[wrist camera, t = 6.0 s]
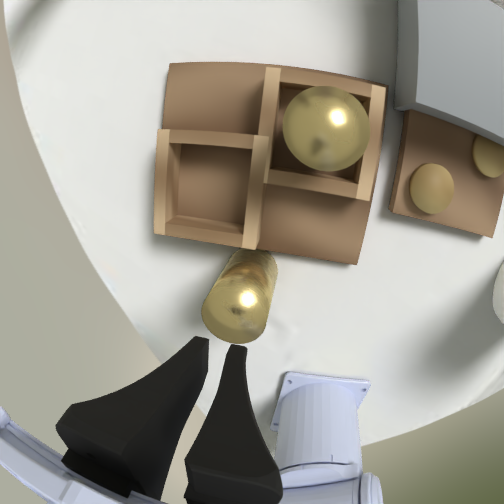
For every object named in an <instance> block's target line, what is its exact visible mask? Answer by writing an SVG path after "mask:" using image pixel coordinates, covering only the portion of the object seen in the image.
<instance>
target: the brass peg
mask: <svg viewBox="0 0 504 504" xmlns="http://www.w3.org/2000/svg"><path fill="white" fill-rule="evenodd" d="M277 274H278V268H277V264H276V262H275V260H274V258H273V257H272V256H271V255H270V254H269V253H268V252H267V251H265V250H262V249H255V250H253V249H246V248H241V249H239V250H237V251H236V252H235V253H234V254H233V255H232V256H231V258H230V260H229V261H228V263H227V264H226V266H225V268H224V269H223V271H222V273H221V274H220V276H219V278H218V279H217V281H216V283H215V284H214V286H213V288H212V289H211V291H210V293H209V294H208V296H207V298H206V299H205V301H204V303H203V305H202V309H201V314H202V319H203V322H204V324H205V326H206V327H207V329H208V330H209V331H210V332H211V333H212V334H213V335H215V336H216V337H217V338H219V339H221V340H223V341H226V342H229V343H235V344H244V343H249V342H252V341H254V340H255V339H257V338H258V337H259V336H260V335H261V334H262V333H263V331H264V329H265V326H266V322H267V318H268V314H269V310H270V305H271V301H272V297H273V292H274V288H275V284H276V279H277Z"/></svg>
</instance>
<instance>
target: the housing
mask: <svg viewBox="0 0 504 504" xmlns="http://www.w3.org/2000/svg"><path fill="white" fill-rule="evenodd" d="M393 109H396V110H399V111H405V110H409V109H413V110H416V111H419V112H422V113H425V114H428V115H431V116H434V117H436V118H439V119H442V120H445V121H447V122H450V123H452V124H455V125H458V126H460V127H463V128H465V129H467V130H470V131H472V132H474V133H477V134H479V135H481V136H483V137H486V138H488V139H490V140H492V141H494V142H496V143H498V144H500V145H502V146H504V9H503V8H502V7H500V6H499V5H497V4H495V3H494V2H492V1H490V0H398V50H397V70H396V85H395V96H394V106H393Z"/></svg>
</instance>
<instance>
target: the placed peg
mask: <svg viewBox="0 0 504 504" xmlns="http://www.w3.org/2000/svg"><path fill="white" fill-rule="evenodd" d="M282 127H283V135H284V139H285V142H286V144H287V146H288V148H289V150H290V151H291V152H292V154H293V155H294V156H295V157H296V158H297V159H298V160H299V161H300V162H302V163H303V164H305V165H307V166H309V167H311V168H313V169H316V170H320V171H338V170H342V169H345V168H347V167H349V166H351V165H352V164H354V163H355V162H356V161H358V160H359V159H360V157H361V156H362V155H363V154H364V152H365V150H366V148H367V146H368V143H369V139H370V123H369V119H368V116H367V113H366V111H365V109H364V108H363V106H362V105H361V103H360V102H359V101H358V100H357V99H356V98H355V97H354V96H352V95H351V94H350V93H348V92H346V91H344V90H342V89H340V88H336V87H332V86H316V87H312V88H309V89H306V90H304V91H302V92H301V93H299V94H298V95H297V96H295V97H294V98H293V99H292V101H291V102H290V103H289V105H288V107H287V109H286V111H285V113H284V117H283V126H282Z"/></svg>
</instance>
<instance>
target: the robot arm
mask: <svg viewBox="0 0 504 504" xmlns="http://www.w3.org/2000/svg"><path fill="white" fill-rule="evenodd" d="M208 353H209V339H207V338H202V337H198V336H195V337H193V338H192V339H191V340H190V341H189V342H188V343H187V344H186V345H185V346H184V347H183V348H182V349H180V350H179V351H178V352H177V353H176V354H175V355H173V356H172V357H171V358H170V359H169V360H167V361H166V362H165V363H163V364H162V365H161V366H160V367H158V368H157V369H155V370H154V371H152V372H151V373H149V374H148V375H146V376H145V377H143V378H141V379H140V380H138V381H136V382H134V383H132V384H130V385H129V386H127V387H124V388H122V389H120V390H118V391H116V392H113V393H110V394H108V395H105V396H102V397H99V398H96V399H92V400H89V401H85V402H80V403H75V404H72V405H71V406H70V407H69V408H68V409H67V410H66V412H65V413H64V414H63V416H62V417H61V418H60V420H59V421H58V423H57V424H56V431H57V432H58V434H59V436H60V437H61V439H62V440H63V441H64V443H65V444H66V445H67V447H68V448H69V449H68V450H67V452H66V453H65V455H64V456H63V455H61V454H60V453H58V452H56V451H55V450H53V449H52V448H50V447H49V446H47V445H46V444H44V443H42V442H41V441H39V440H38V439H37V438H35V437H34V436H32V435H31V434H30V433H28V432H27V431H26V430H24V429H23V428H21V427H20V426H19V425H18V424H16V423H15V422H13V420H11V418H10V416H9V415H8V413H7V412H6V411H5V410H4V409H3V408H2V407H1V406H0V464H1V465H2V466H3V467H4V468H5V469H6V470H8V471H9V472H10V473H11V474H12V475H13V476H14V477H16V478H17V479H18V480H19V481H21V482H22V483H23V484H24V485H26V486H27V487H28V488H30V489H31V490H32V491H33V492H35V493H36V494H37V495H39V496H40V497H41V498H43V499H44V500H46V501H47V504H167V503H164V502H161V501H160V500H161V496H162V492H163V488H164V485H165V481H166V478H167V475H168V471H169V468H170V465H171V462H172V459H173V456H174V453H175V450H176V447H177V444H178V441H179V438H180V435H181V433H182V430H183V428H184V426H185V423H186V421H187V419H188V417H189V415H190V413H191V411H192V409H193V407H194V405H195V403H196V401H197V399H198V397H199V395H200V392H201V390H202V388H203V385H204V382H205V379H206V375H207V372H208ZM246 356H247V348H246V347H245V346H240V345H235V344H231V346H230V348H229V350H228V352H227V354H226V358H225V362H224V366H223V371H222V375H221V379H220V383H219V387H218V390H217V393H216V396H215V398H214V401H213V403H212V406H211V408H210V410H209V412H208V415H207V417H206V419H205V421H204V423H203V426H202V428H201V430H200V432H199V434H198V436H197V438H196V440H195V441H194V444H193V445H192V447H191V449H190V451H189V453H188V454H187V456H186V457H185V459H184V460H185V466H186V472H187V477H188V482H189V483H188V486H187V488H186V491H185V494H184V498H185V499H186V501H187V504H383V498H382V491H381V485H380V481H379V478H378V477H376V476H374V475H373V474H372V473H370V472H369V473H365V474H363V471H362V456H361V444H360V433H359V423H358V413H357V410H358V408H359V406H360V404H361V403H362V401H363V399H364V397H365V396H366V394H367V392H368V390H369V388H370V386H371V384H370V381H368V380H356V379H345V378H335V377H326V376H317V375H309V374H302V373H295V372H288V373H286V374H285V377H284V381H283V384H282V388H281V391H280V395H279V398H278V402H277V405H276V409H275V412H274V415H273V419H272V422H271V425H270V430H272V431H276V432H278V437H277V444H276V451H275V457H274V459H273V457H272V456H271V454H270V452H269V450H268V448H267V446H266V444H265V442H264V439H263V437H262V435H261V432H260V430H259V427H258V425H257V422H256V419H255V416H254V413H253V409H252V405H251V401H250V397H249V392H248V386H247V378H246ZM288 380H290V381H288ZM363 388H364V389H363Z"/></svg>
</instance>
